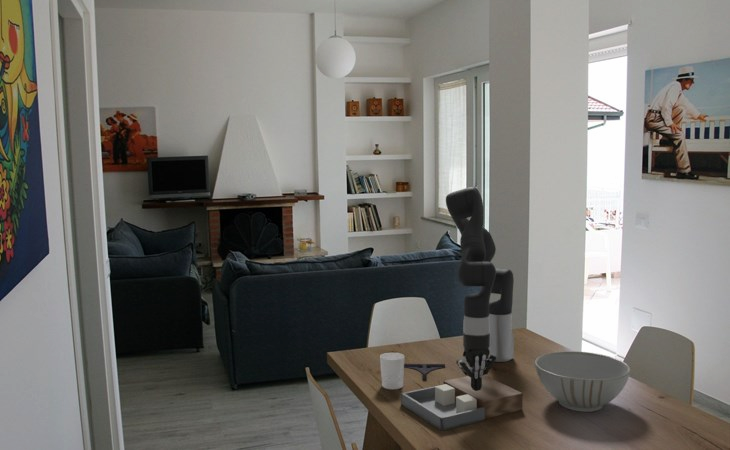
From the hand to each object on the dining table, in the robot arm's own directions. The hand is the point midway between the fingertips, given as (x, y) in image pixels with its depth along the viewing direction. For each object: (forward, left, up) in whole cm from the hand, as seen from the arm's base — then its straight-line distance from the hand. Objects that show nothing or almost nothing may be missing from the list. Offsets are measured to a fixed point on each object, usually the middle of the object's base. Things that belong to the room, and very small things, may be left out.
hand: (476, 389), depth 187 cm
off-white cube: (+2, 0, -4) cm, 4 cm away
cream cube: (+2, -10, -4) cm, 11 cm away
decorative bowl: (-31, +10, -7) cm, 33 cm away
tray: (+8, -5, -7) cm, 12 cm away
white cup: (+10, -31, -7) cm, 33 cm away
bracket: (-6, -37, -8) cm, 38 cm away
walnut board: (-6, -5, -7) cm, 10 cm away
